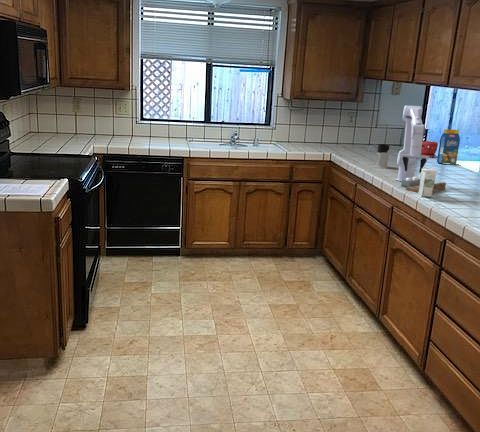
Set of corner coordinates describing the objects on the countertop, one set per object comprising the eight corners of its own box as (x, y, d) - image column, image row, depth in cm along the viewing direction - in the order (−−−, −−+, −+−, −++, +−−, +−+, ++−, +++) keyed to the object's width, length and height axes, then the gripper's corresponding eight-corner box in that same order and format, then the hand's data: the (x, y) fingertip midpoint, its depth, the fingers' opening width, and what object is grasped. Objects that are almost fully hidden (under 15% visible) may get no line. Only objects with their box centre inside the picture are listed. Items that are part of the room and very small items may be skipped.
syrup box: (428, 194, 275) (432, 168, 271) (432, 197, 269) (436, 170, 265) (417, 194, 275) (421, 167, 271) (421, 197, 269) (425, 169, 265)
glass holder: (388, 168, 348) (390, 146, 344) (366, 166, 351) (369, 144, 347) (387, 166, 356) (389, 144, 352) (366, 164, 359) (368, 143, 355)
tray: (413, 184, 300) (414, 176, 298) (421, 186, 296) (422, 177, 295) (401, 186, 293) (402, 177, 291) (408, 188, 289) (409, 179, 288)
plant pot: (438, 157, 410) (441, 142, 406) (431, 158, 400) (434, 143, 397) (423, 154, 418) (425, 140, 415) (415, 156, 409) (417, 141, 406)
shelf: (429, 186, 297) (430, 179, 296) (444, 189, 290) (446, 182, 289) (406, 189, 284) (407, 182, 283) (421, 193, 277) (422, 186, 276)
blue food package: (456, 164, 378) (461, 130, 371) (441, 164, 376) (446, 129, 369) (451, 163, 384) (456, 129, 377) (436, 162, 382) (441, 128, 375)
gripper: (400, 146, 281) (397, 170, 283) (428, 148, 274) (425, 173, 276) (403, 145, 287) (401, 170, 289) (431, 147, 280) (427, 172, 282)
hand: (413, 171), depth 283 cm, fingers open, 7 cm apart
